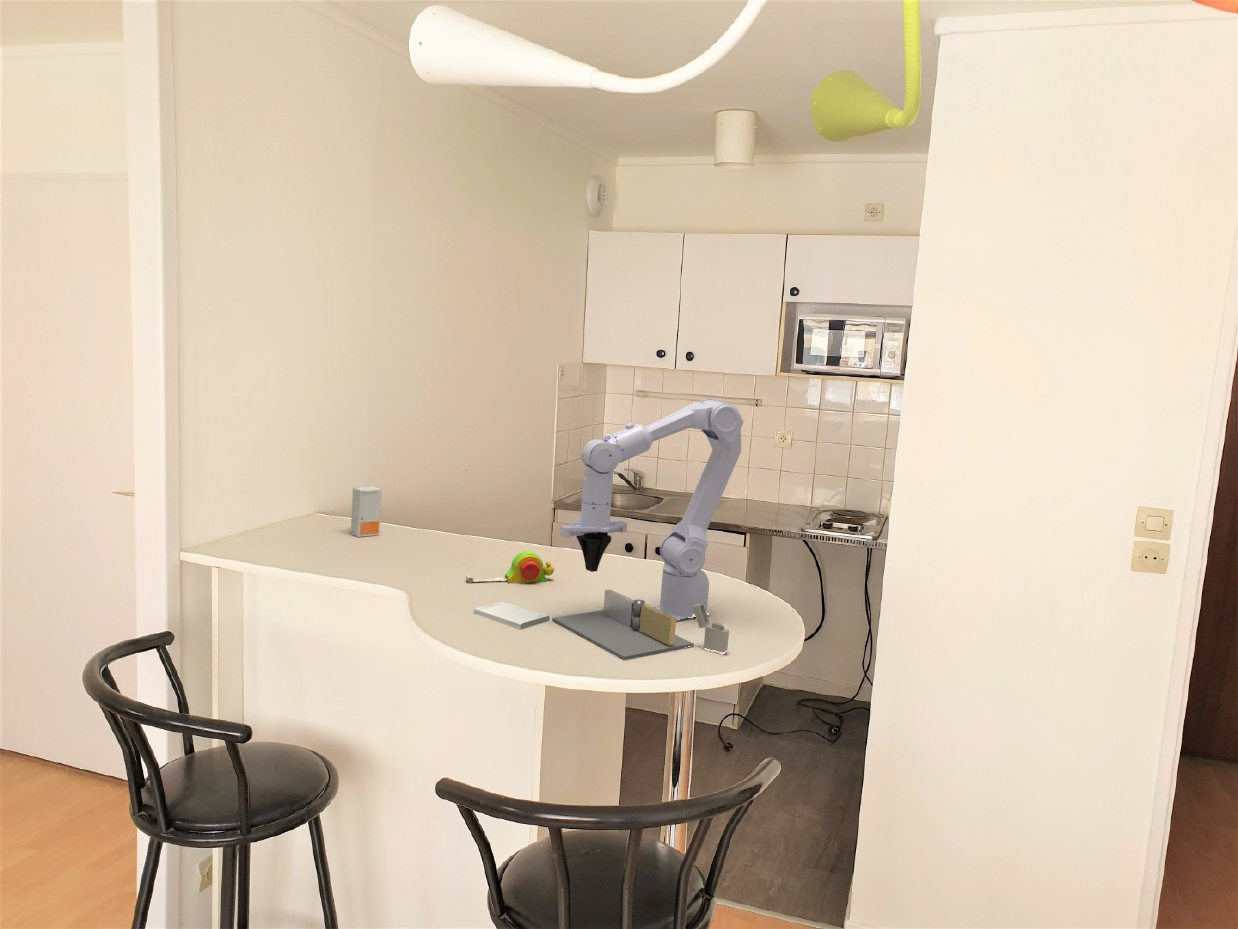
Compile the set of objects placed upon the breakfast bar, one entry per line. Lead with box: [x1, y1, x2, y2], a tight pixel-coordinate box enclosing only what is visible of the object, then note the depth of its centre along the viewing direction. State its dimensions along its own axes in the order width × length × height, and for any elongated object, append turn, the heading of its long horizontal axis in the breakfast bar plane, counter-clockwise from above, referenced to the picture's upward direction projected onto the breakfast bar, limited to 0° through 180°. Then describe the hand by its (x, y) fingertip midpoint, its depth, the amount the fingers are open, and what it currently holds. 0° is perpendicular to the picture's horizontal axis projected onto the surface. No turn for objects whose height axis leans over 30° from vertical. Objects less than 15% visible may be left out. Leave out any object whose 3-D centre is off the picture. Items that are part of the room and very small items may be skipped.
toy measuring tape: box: [465, 550, 555, 584], centre depth 204 cm, size 6×20×7 cm, turn 109°
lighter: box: [693, 603, 730, 652], centre depth 170 cm, size 7×2×8 cm, turn 54°
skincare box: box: [350, 486, 383, 538], centre depth 235 cm, size 6×4×12 cm
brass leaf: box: [633, 599, 677, 645], centre depth 172 cm, size 11×2×5 cm, turn 37°
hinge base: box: [551, 588, 694, 661], centre depth 175 cm, size 16×23×6 cm
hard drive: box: [473, 600, 551, 630], centre depth 180 cm, size 2×8×12 cm
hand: (591, 570), depth 182 cm, fingers closed
